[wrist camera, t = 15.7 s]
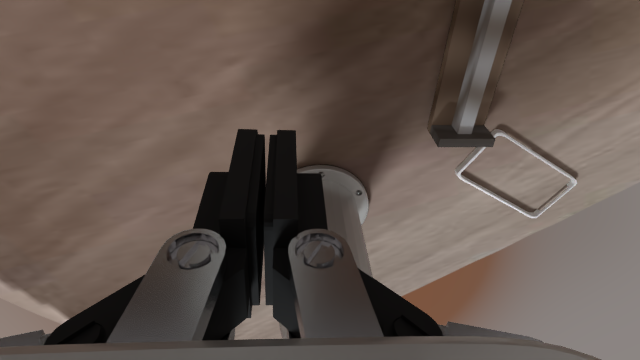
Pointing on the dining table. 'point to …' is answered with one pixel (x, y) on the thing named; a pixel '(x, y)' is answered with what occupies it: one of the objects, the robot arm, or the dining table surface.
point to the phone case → (530, 214)
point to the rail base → (471, 71)
